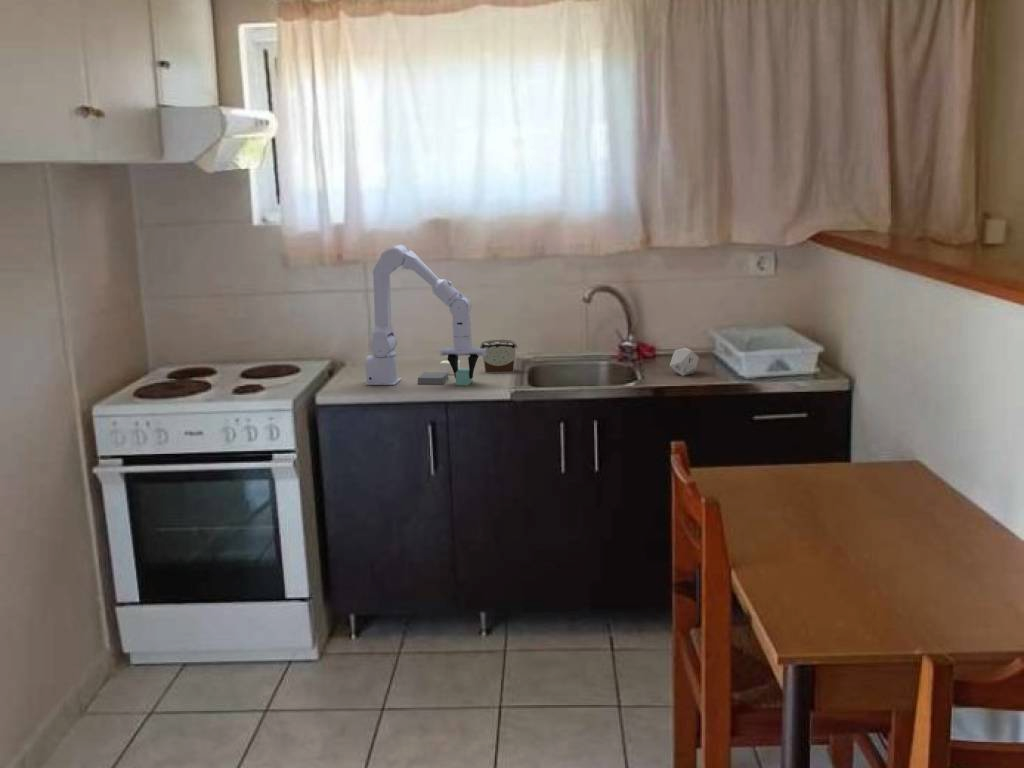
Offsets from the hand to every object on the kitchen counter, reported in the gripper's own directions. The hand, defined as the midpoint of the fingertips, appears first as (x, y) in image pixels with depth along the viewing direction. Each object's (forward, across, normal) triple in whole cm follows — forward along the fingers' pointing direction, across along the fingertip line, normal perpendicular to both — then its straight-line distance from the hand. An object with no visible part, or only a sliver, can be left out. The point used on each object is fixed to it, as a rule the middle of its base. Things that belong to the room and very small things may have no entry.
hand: (464, 377), depth 321 cm
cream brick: (+2, -8, +14) cm, 16 cm away
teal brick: (+2, 0, 0) cm, 2 cm away
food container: (+2, +8, +18) cm, 20 cm away
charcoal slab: (+2, -10, +2) cm, 11 cm away
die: (+2, +68, +14) cm, 70 cm away
